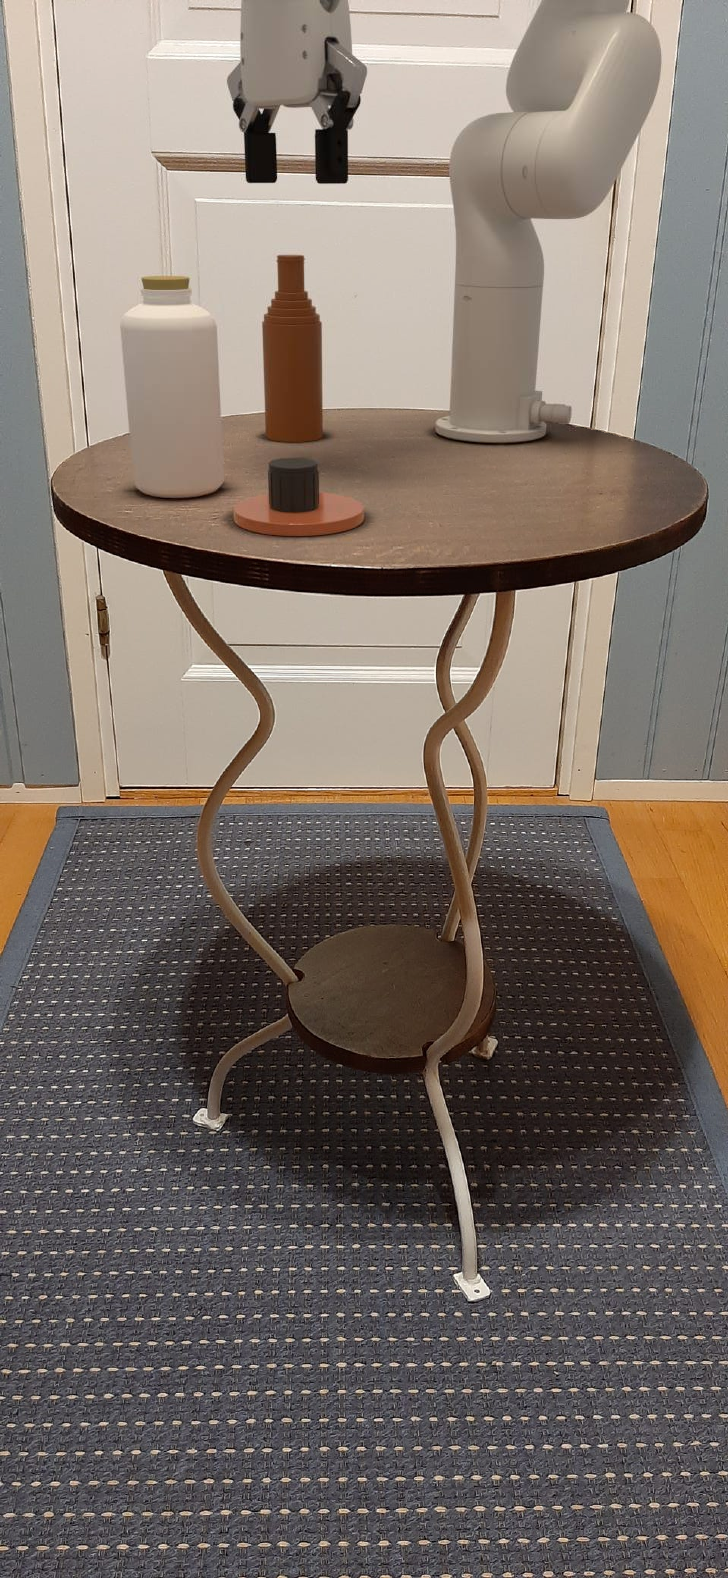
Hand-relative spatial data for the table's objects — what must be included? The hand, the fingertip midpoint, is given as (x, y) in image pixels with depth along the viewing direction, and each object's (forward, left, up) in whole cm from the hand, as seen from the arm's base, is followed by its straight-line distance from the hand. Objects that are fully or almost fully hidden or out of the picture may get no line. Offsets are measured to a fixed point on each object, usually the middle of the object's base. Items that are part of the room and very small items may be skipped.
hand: (295, 183), depth 101 cm
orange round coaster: (-7, +16, -25) cm, 31 cm away
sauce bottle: (+8, -16, -25) cm, 31 cm away
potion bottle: (+7, +11, -25) cm, 29 cm away
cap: (-7, +16, -24) cm, 30 cm away
